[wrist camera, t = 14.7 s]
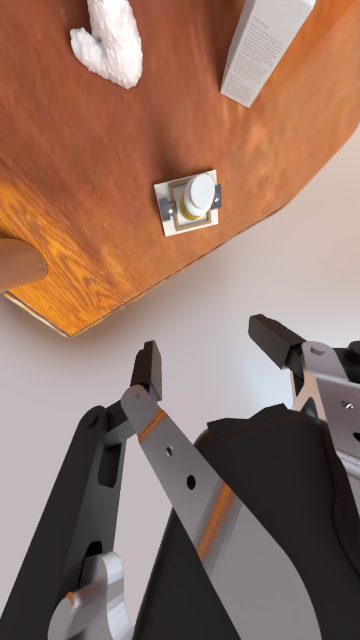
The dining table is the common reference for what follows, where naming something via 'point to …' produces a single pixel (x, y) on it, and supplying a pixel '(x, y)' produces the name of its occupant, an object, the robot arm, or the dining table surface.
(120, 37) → the white creature statuette
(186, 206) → the supplement bottle
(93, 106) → the dining table surface
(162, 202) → the shaft stubs
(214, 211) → the coupling board
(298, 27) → the skincare box
